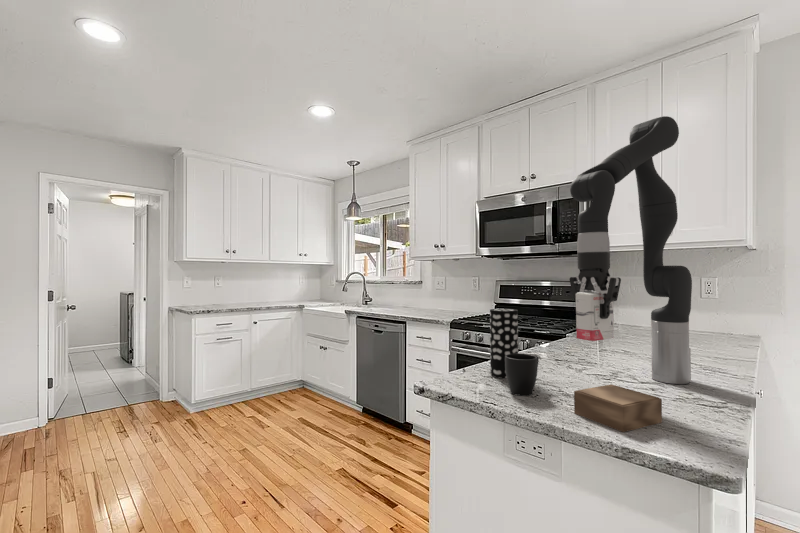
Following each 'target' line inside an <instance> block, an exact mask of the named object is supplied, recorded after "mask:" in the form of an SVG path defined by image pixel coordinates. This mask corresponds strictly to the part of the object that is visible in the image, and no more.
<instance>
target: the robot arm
mask: <svg viewBox="0 0 800 533" xmlns="http://www.w3.org/2000/svg"><path fill="white" fill-rule="evenodd" d="M678 125H679V124H678V123H677V120H675V118H674V117H671V116H668V115H667V116H664V115H663V116H660V117H656V118H653V119H650V120H647V121H644V122H640V123H638V124H636V125H634V126H632V128H631V130H630V132H629V137H628V138H629V143H628V144H627V145H625V146H623V147H621V148H619V149H617V150H615V151H614V152H613V153H611V154H610V155H608V156H607V157H606V158H605V159H603V160H602V161H601V162H600V163H598V164H596V165H594V166H593V167H591V168H589V169H587V170H585V171H583V172H582V173H580V174H578V175H577V176H576V177H575V178H573V179H572V181H571V184H570V187H569V192H570V195H571V197H572V198H573V200H575V201H577V202H579V203H587V202H590V205H589V206H588V207H587V208H586V209H584V210H582V211H581V212H579V213H578V217H577V241H576V243H577V245H576V247H577V249H576V250H577V255H576V256H577V269H578V270H579V272H578V275H577V276H571V277H569V283H570V284H569V285H570V288H571V293H572V298H573V299H574V300H576V293H578V292H596V294H598V295H599V300H600V303H601V304H600V318H601V319H607V318H608V316H609V315H610V303H611V302H613V303H614V302H617V301H618V298H619V292H620V288H621V281H622V279H621V277H617V276H615V277H614V276H611V275H610V273H609V269H611V248H610V246H611V245H610V244H611V242H610V235H609V214H610V211H611V207H612V202H613V200H614V195H615V192H616V185H617V184H618V183H620V182H621V181H623V179H624V178H626V177H627V176H629V175H630V174H631V173H632V172H633V171H634V173H635V180H636V185H637V195H638V196H637V197H638V207H639V208H638V209H639V218H640V226H641V234H642V235H641V236H642V246H643V247H642V248H643V250H642V251H643V252H642V253H643V264H642V265H643V268H642V269H643V276H642V277H643V283H644V289H645V291H646V293H647V294H648V295H649V296H651V297H658V298H668V300H667V303H666V304H665V305H664V306H662V307H658V308H655V309H653V310H651V313H650V320H651V321H650V323H651V324H650V326H651V327H650V330H651V332H650V336H651V340H650V344H651V347H650V348H651V379H653V381H657V382H660V383H667V384H671V385H672V384H673V385H685V384H687V385H688V384H690V382H691V381H692V372H691V371H692V359H691V357H692V356H691V355H692V354H691V353H692V352H691V347H690V315H691V309H692V292H693V291H692V290H693V279H692V274H691V272H690V270H689V268H688V267H687V266H684V265H664V250H665V249H664V248H665V246H666V243H667V242H668V239H669V237H670V236H671V235H672V233H673V231H674V229H675V227H676V224H677V222H678V205H677V204H678V203H677V197H676V195H675V194H676V193H675V192H674V190H672V188H671V187H670V185H668V183H666V182H665V180H664V179H663V178H662V177H661V176H660V175H659V173H658V172H657V169H656V167H655V164H654V160H653V157H655V156H657V155H658V154H660V153H661V152H664V151H666V150H668V149H670V148H671V147H673V146H674V145H675V144H676V143H677V141H678V138H679V134H680V128H679V126H678ZM603 294H604V295H603Z"/></svg>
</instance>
